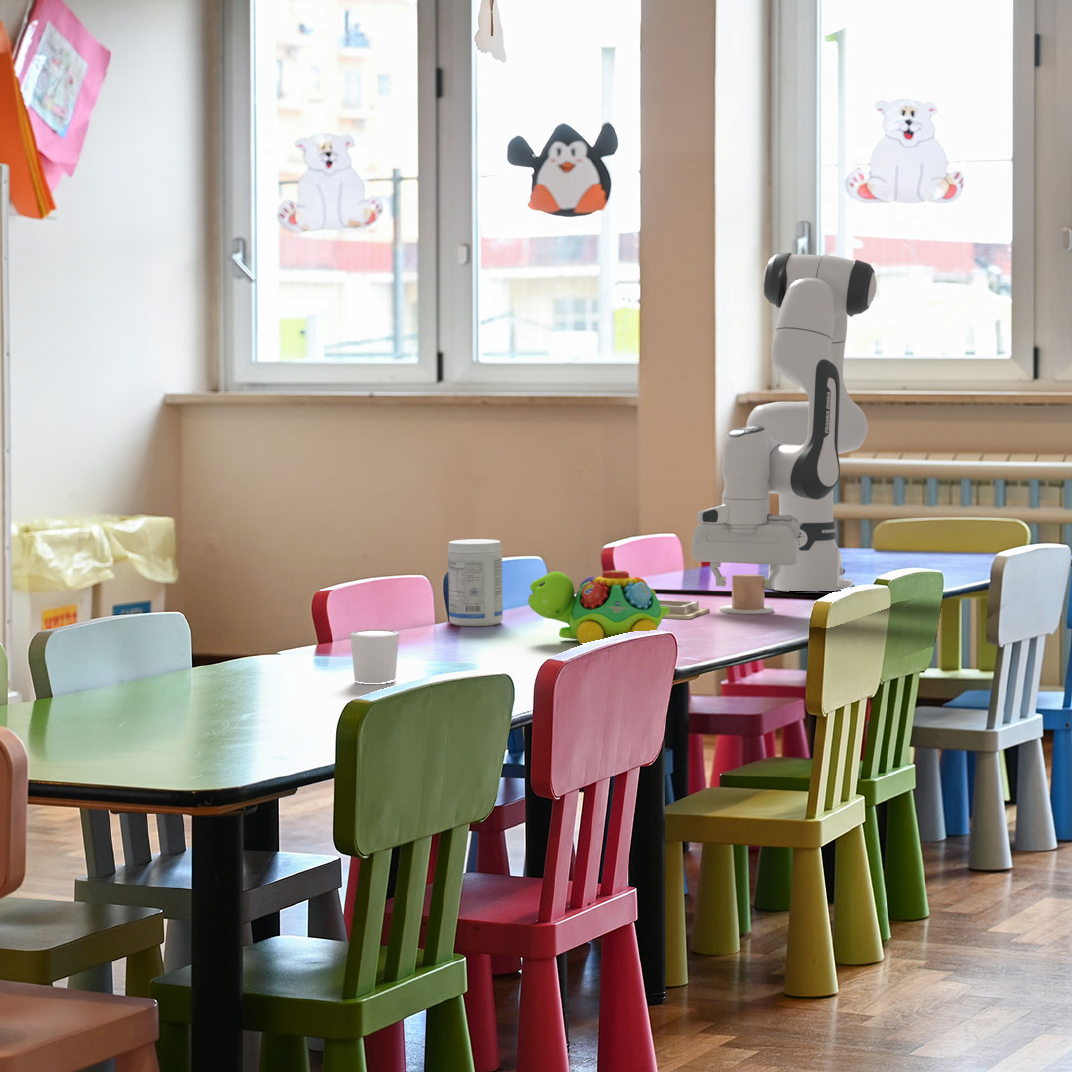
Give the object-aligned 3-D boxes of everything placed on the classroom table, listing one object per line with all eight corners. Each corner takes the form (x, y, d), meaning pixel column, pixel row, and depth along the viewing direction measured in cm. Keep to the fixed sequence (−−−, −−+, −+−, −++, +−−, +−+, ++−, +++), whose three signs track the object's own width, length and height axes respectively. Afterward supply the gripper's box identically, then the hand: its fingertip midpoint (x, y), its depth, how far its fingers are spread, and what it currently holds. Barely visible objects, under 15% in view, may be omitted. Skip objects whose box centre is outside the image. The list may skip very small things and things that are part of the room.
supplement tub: (481, 618, 312) (480, 538, 310) (513, 624, 304) (513, 541, 303) (437, 623, 305) (437, 540, 304) (470, 628, 298) (469, 544, 297)
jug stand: (648, 608, 326) (648, 598, 326) (709, 611, 321) (709, 601, 321) (626, 616, 315) (626, 605, 315) (688, 619, 310) (688, 608, 310)
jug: (767, 606, 324) (768, 575, 323) (754, 612, 315) (754, 580, 314) (736, 605, 326) (737, 573, 325) (722, 611, 317) (723, 578, 316)
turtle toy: (527, 635, 291) (527, 566, 290) (664, 634, 291) (664, 565, 290) (529, 650, 274) (529, 576, 273) (674, 649, 274) (675, 575, 274)
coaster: (728, 606, 329) (728, 603, 329) (779, 609, 325) (779, 606, 325) (712, 612, 320) (712, 609, 320) (764, 615, 316) (765, 612, 316)
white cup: (343, 680, 244) (342, 631, 243) (387, 676, 247) (386, 628, 247) (362, 687, 238) (362, 637, 237) (407, 683, 241) (407, 633, 241)
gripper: (804, 514, 320) (803, 588, 321) (699, 511, 328) (699, 583, 329) (795, 516, 314) (794, 591, 315) (689, 513, 322) (688, 586, 323)
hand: (744, 587), depth 322 cm, fingers open, 8 cm apart
